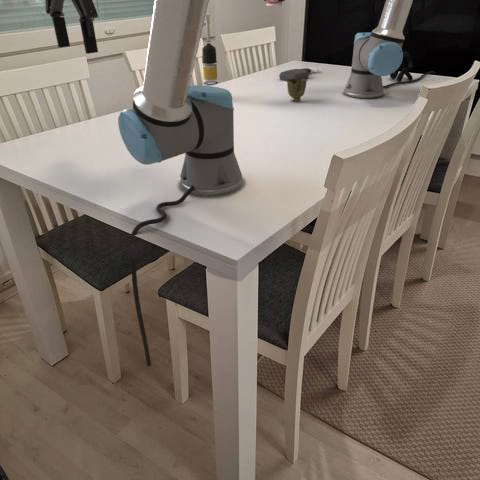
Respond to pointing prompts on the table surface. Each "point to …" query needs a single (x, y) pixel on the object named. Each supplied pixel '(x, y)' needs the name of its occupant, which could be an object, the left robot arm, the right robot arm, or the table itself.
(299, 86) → the cup
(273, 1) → the pill bottle
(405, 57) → the squiggle
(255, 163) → the table surface
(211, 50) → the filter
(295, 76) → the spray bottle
